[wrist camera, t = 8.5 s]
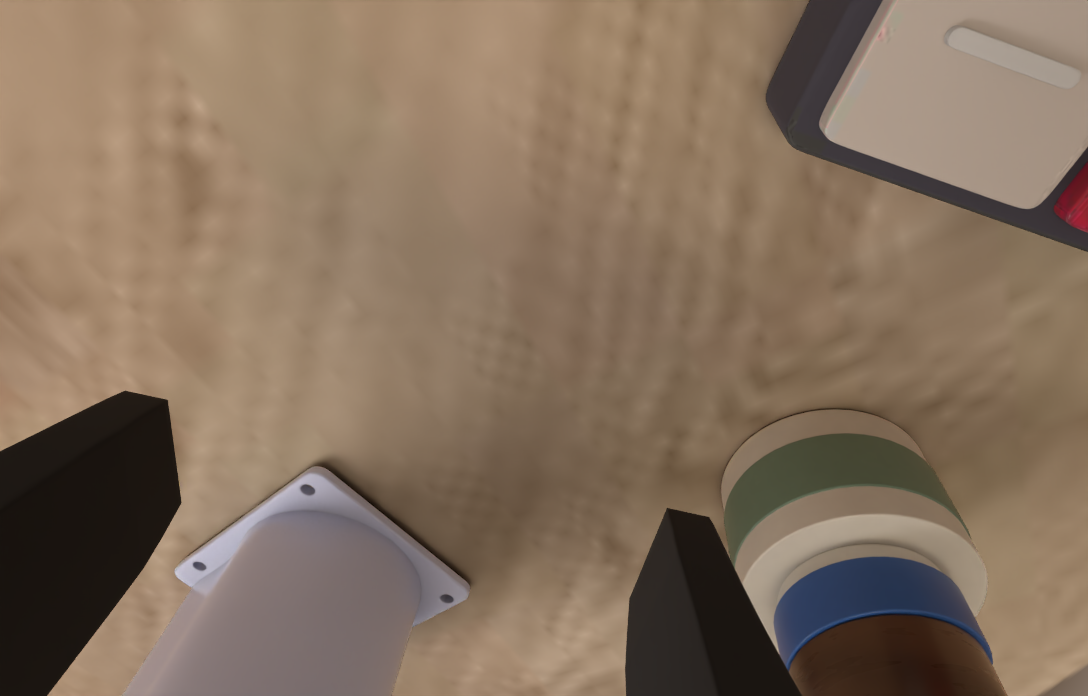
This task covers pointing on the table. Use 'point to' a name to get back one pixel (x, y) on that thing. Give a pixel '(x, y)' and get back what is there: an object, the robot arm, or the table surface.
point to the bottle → (846, 529)
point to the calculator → (949, 102)
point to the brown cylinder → (894, 660)
